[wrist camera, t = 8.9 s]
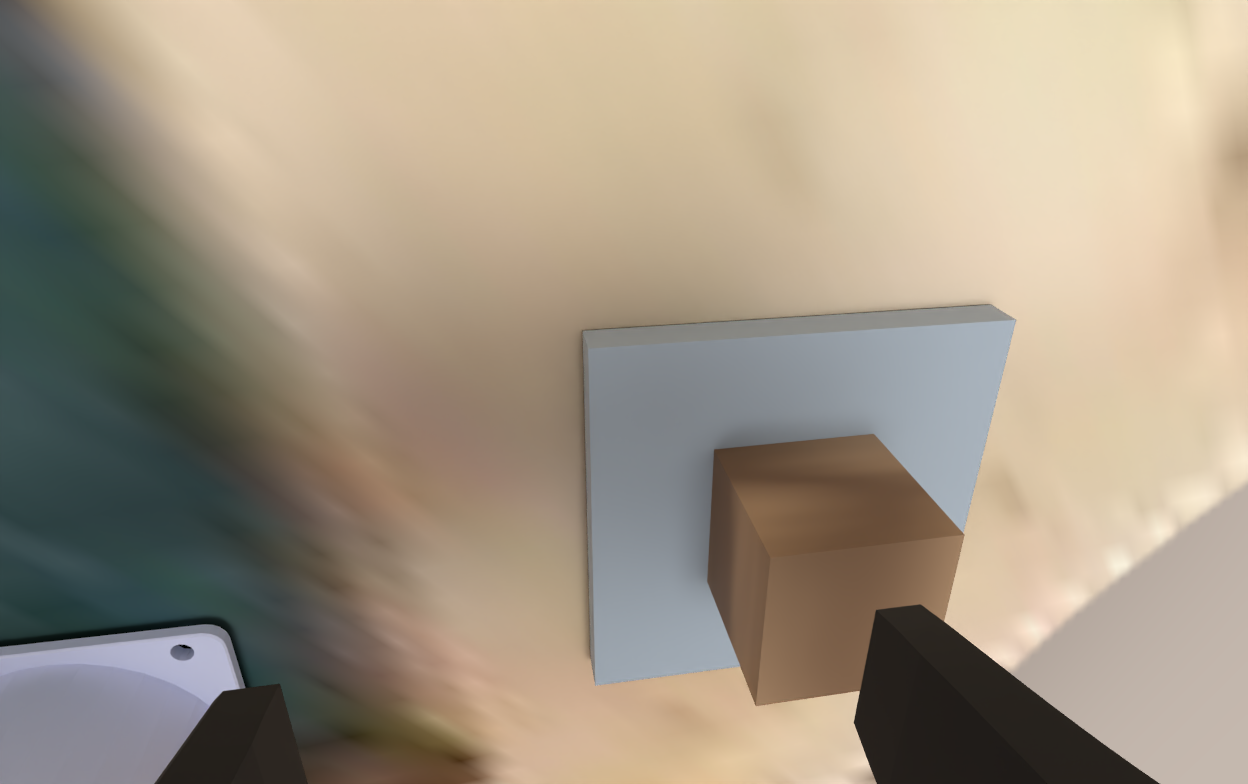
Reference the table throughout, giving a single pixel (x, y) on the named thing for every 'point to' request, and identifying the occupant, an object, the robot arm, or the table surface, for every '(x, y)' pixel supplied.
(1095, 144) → the table surface
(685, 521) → the mat
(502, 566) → the table surface
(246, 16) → the table surface
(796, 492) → the walnut cube
